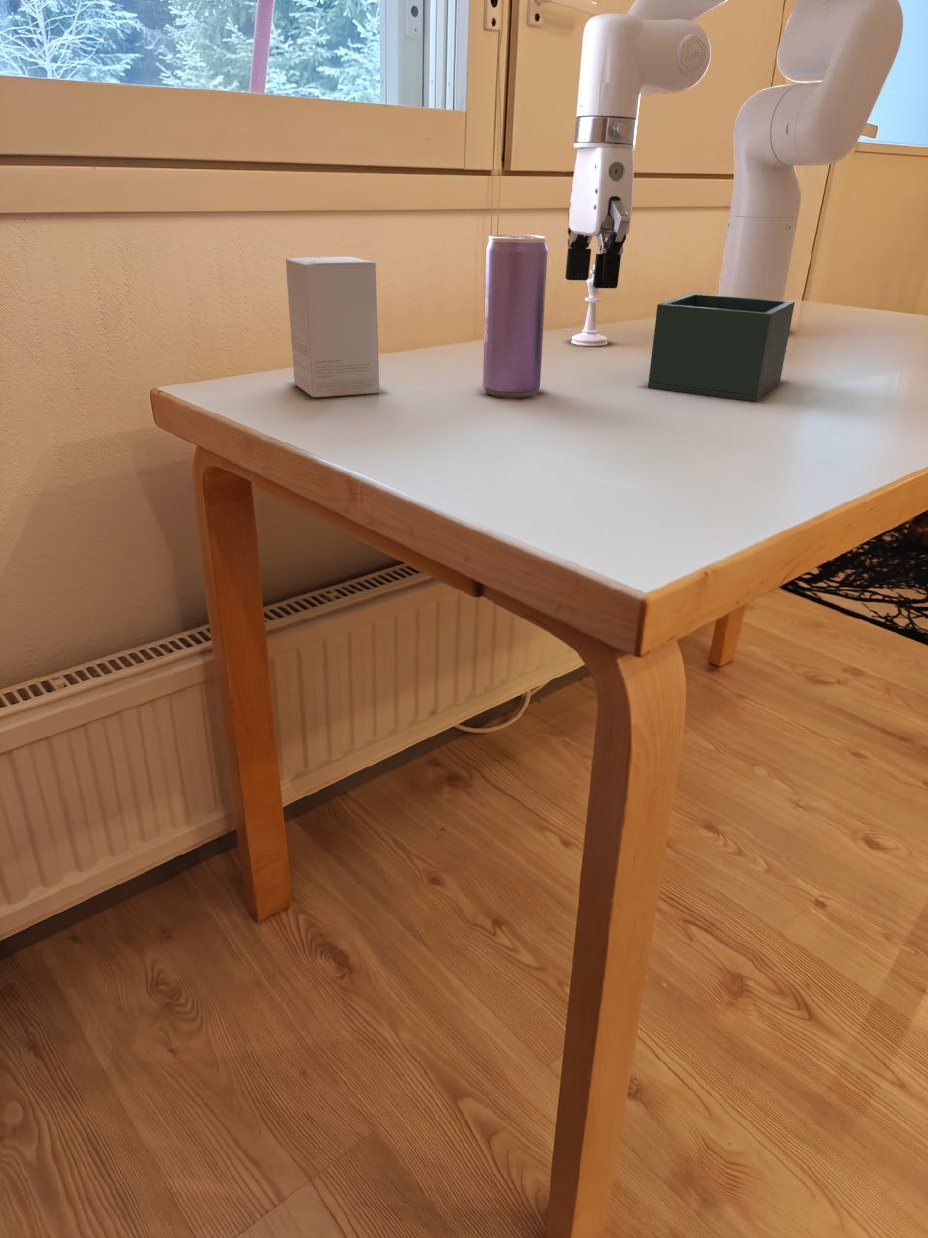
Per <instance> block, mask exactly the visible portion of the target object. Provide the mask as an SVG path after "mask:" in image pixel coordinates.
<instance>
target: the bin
mask: <svg viewBox="0 0 928 1238" xmlns="http://www.w3.org/2000/svg"><path fill="white" fill-rule="evenodd" d="M795 303H796V302H795V301H788V300H783V301H778V300H765V299H753V298H740V297H728V296H717V295H713V294H704V293H703V294H701V293H688V294H686V295H682V296H679V297H676V298H672V299H670V300H667V301H664V302H661V303H657V306H656V315H655V323H654V331H653V341H652V349H651V358H650V367H649V375H648V383H647V388H649V389H656V390H657V389H658V390H662V391H663V390H664V391H670V392H671V391H672V392H680V393H686V394H693V395H702V396H709V397H717V398H725V399H733V400H740V401H748V402H754V403H756V402H757V401H758V400H760V398H762V397H763V396H765V395H766V394H767V393H768V392H770V391H771V390H772V389H773V388H774V387H776V386H777V385H778V384H780V382H781V379H782V375H783V374H782V373H783V368H784V363H785V357H786V353H787V346H788V342H789V335H790V329H791V324H792V320H793V314H794V308H795Z"/></svg>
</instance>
